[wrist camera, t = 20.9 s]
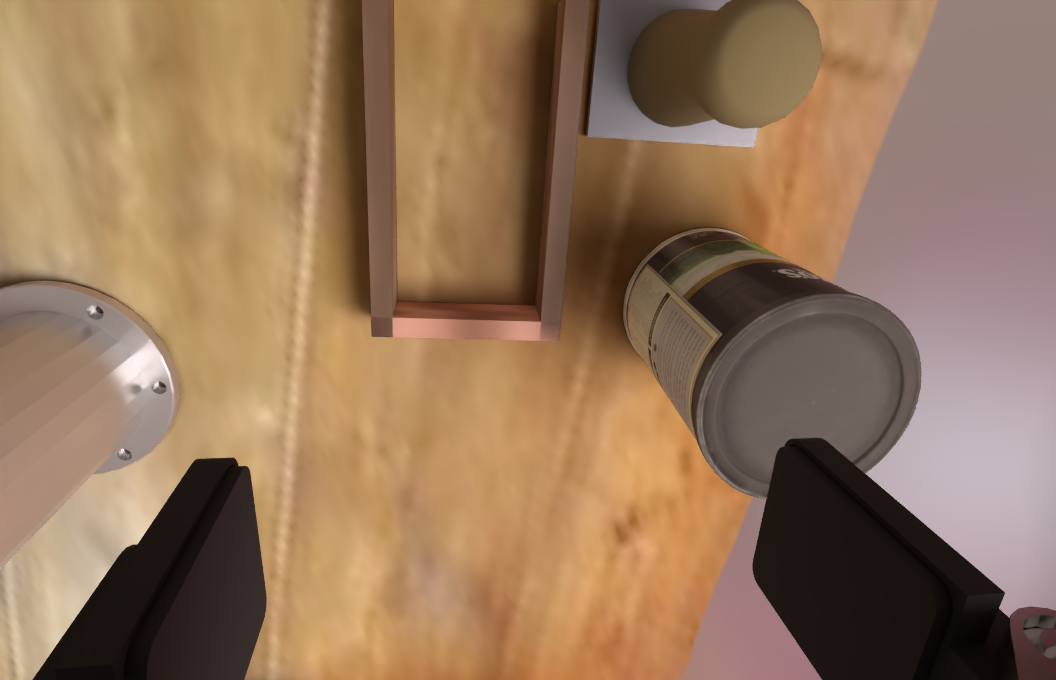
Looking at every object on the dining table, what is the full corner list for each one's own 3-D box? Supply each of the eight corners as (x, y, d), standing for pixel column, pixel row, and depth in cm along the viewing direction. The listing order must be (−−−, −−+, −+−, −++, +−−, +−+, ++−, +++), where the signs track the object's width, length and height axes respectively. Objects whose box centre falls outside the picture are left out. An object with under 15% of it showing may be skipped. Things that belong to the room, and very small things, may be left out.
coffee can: (695, 192, 37) (821, 245, 24) (805, 288, 40) (968, 380, 27) (588, 321, 40) (649, 431, 27) (699, 402, 43) (802, 536, 30)
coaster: (585, 136, 35) (587, 136, 35) (604, -67, 32) (607, -70, 31) (749, 146, 37) (754, 147, 36) (786, -48, 33) (792, -51, 32)
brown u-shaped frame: (378, 319, 38) (371, 336, 35) (369, -14, 32) (361, -24, 29) (552, 323, 40) (559, 341, 37) (579, 5, 33) (590, -3, 30)
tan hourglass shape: (656, 148, 35) (734, 170, 25) (608, 48, 33) (672, 29, 23) (749, 90, 35) (868, 89, 25) (706, -16, 33) (818, -64, 22)
